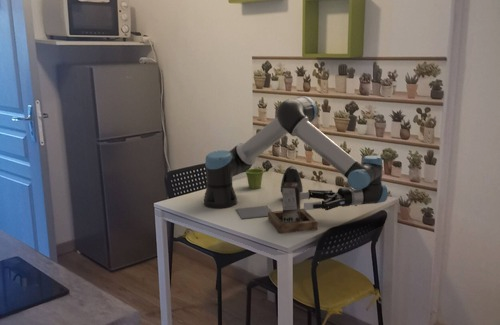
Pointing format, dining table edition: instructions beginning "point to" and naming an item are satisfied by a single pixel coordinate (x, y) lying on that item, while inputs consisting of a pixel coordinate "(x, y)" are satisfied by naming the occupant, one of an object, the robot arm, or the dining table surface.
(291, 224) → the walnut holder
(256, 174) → the plant pot
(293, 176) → the dark rounded canister
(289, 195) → the coffee box
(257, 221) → the dining table surface
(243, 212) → the grey rubber mat
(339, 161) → the robot arm
